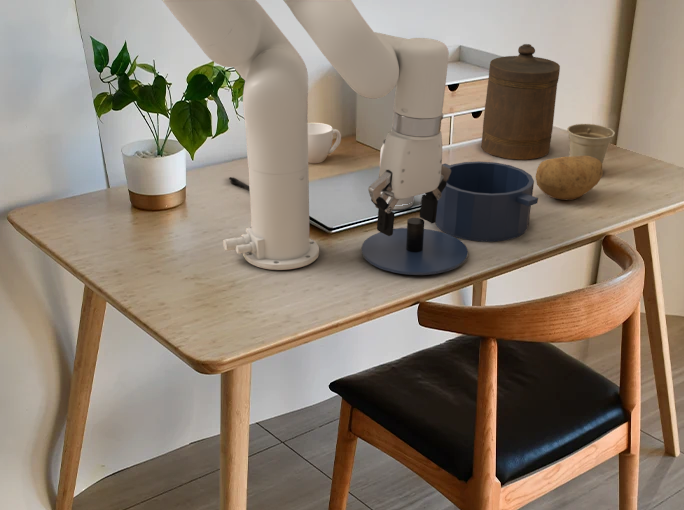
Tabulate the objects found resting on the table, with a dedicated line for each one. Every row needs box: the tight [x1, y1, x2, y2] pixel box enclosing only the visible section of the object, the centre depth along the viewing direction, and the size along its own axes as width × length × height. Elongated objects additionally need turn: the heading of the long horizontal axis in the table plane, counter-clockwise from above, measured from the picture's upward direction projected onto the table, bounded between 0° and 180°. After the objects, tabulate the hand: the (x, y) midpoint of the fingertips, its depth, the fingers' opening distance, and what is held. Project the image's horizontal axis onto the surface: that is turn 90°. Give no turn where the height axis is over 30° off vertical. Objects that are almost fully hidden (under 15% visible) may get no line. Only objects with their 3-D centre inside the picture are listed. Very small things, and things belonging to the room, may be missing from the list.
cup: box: [308, 122, 342, 164], centre depth 192 cm, size 8×10×7 cm
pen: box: [228, 177, 250, 192], centre depth 178 cm, size 14×2×1 cm, turn 38°
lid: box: [361, 217, 468, 276], centre depth 152 cm, size 18×18×6 cm
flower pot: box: [566, 123, 616, 165], centre depth 187 cm, size 9×9×9 cm
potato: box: [535, 155, 604, 201], centre depth 175 cm, size 10×14×8 cm
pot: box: [434, 160, 539, 243], centre depth 164 cm, size 17×22×8 cm
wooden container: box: [480, 43, 561, 161], centre depth 195 cm, size 15×15×22 cm
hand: (406, 226), depth 151 cm, fingers open, 9 cm apart
